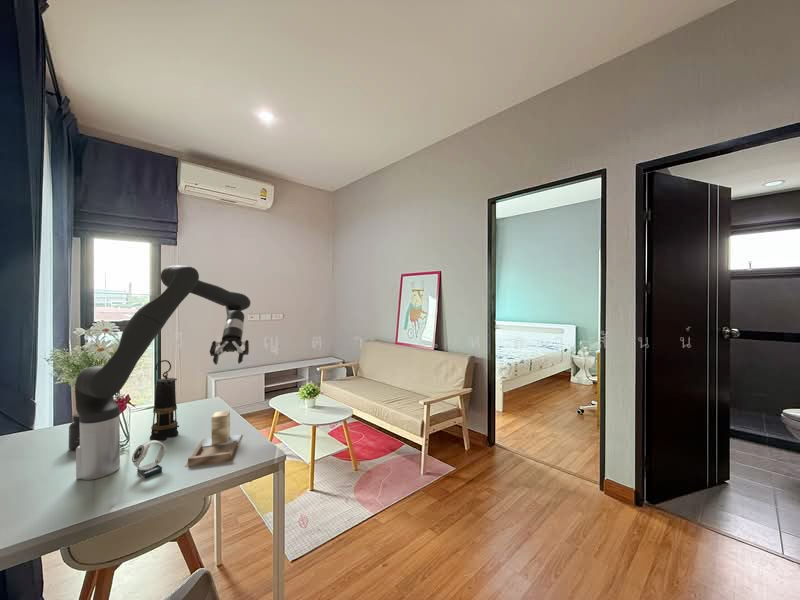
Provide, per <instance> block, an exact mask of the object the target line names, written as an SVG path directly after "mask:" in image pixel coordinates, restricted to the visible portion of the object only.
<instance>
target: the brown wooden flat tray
mask: <svg viewBox="0 0 800 600" xmlns="http://www.w3.org/2000/svg"><path fill="white" fill-rule="evenodd" d="M243 437H244V435H243V434H233V435H230V437H229V439H228V441H227V443H219V444H212V437H207V438H206V437H205V438H203V439H201V441H200V443H199V444H198V445H197V447H196V448H195V449H194V451H193V453H192V454H191V456H189V457H188V458H187V462H186V464H185V465H184V468H187V467H197V466H201V465H203V466H205V465H212V464H217V463H226V462H233V461H234V459H235V457H236V454H237V452H238V450H239V447H240V444H241V442H242V439H243Z"/></svg>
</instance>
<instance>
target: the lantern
mask: <svg viewBox="0 0 800 600" xmlns="http://www.w3.org/2000/svg"><path fill="white" fill-rule="evenodd" d="M163 362H166V363H167V364H168V365H169V369H168V370H167V371H164V372H162V373H163V374H162V377H163V378H159V379H156V380H154V382H155V383H156V387H155V397H154V407H153V409H152V410H153V411H152V412H153V418H152V419H153V420H152V425H151V428H150V429H151V433H150V434H151V435H150V436H149V441H151V440H156V441H159V442H164V441H166V440H168V439H171V438H176V437H177V436H178V435H179V431H178V428H179V427H180V425H179V423H178V421H177V419H178V418H177V409H178V406H177V400H176V399H177V397H176V396H177V395H176V381H177V380H178V379H177V378H175V377H168V376H169V374H168V373H169V372H170V371H171V369H172V364H171V362H170V361H169V360H167V359H165V360H164V359H163V360H160V361H158V362H157V363H156V365H155V371H158V366H159V364H161V363H163ZM174 417H175V418H174ZM155 418H156V419H155ZM155 420H156V422H155Z"/></svg>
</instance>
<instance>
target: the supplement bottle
mask: <svg viewBox="0 0 800 600" xmlns="http://www.w3.org/2000/svg"><path fill="white" fill-rule="evenodd" d="M78 446H80V419H79V415H78V413H76V414H74V415H72V422H71V423H70V424H69V426H68V450H69V451H71V452H72V451H73V452H76V448H77V447H78Z"/></svg>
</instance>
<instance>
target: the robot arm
mask: <svg viewBox="0 0 800 600" xmlns="http://www.w3.org/2000/svg"><path fill="white" fill-rule="evenodd" d="M160 280H161V282H162V283H163V285H164V286H166V288H165V289H164V291H163V292H162V293H161V294H159V295H158V296H156V297H154V299H151V301H149V302H147V303H145V304H144V305H143V306H142V307H140V308H139V309H138V310H137V311H136V312H135V313H134V315H132V317H131V318H130V319H129V321H128V322H127V323H126V325H125V326H124V329H123V330H122V332H121V337H120V339H119V344H118V347H117V349H116V350H115V352H114V353H113V355H112V356H111V357H110V359H109V360H108V361H107V362H106V363H105V365H103V366H102V365H101V366H100V365H95V366H90V367H88V368H86V369H84V370H82V371H81V372H80V373H79V374H78V375H77V377H76V380H75V384H74V385H75V386H74V395H75V409H76V414H78V415H79V419H80V446H78V447H77V448H76V451H75V479H76V480H79V479H80V480H85V481H88V480H89V481H90V480H91V481H92V480H96V479H100V478H104V477H107V476H109V475H112V474H114V473H115V472H117V470H119V469H120V467H121V451H120V450H121V446H120V445H121V444H120V443H121V441H120V440H121V437H120V436H121V434H120V424H121V423H120V421H121V420H120V419H121V417H120V411H121V410H120V406H119V404H118V403H117V402H116V401H115V399H114V396H115V395H116V394H118V393H119V392H120V391H121V390H122V389H123V387H124V386H125V384H126V383H127V381H128V380H129V378H130V376H131V374H132V373H133V370H134V369H135V367H136V365H137V364H138V362H139V360H140V359H141V357H142V356H143V355H144V354H145V352H146V350H147V349H148V348H149V347H150V345H151V343H152V342H153V341H154V340H155V338H156V337H158V335H159V333H160V332H161V330H162V329H163V328H164V327H165V325H166V323H167V322H168V320H169V319H170V318H171V317H172V315H173V313H174V312H175V311H176V310H177V309H178V307H179V305H180V304H181V303H182V302H183V301H184V300H185V299H186V297H188V295H189V294H193V295H195V296H199V297H201V298H204V299H206V300H208V301H211V302H212V303H215V304H217V305H219V306H222V307H225V312H226V321H225V324H224V327H223V332H222V337H221V341H220V342H219V341H215V340H213V341H212V343H211V346H210V349H209V354H210V355H209V356H210V357H213V358H212V361H213V364H214V365H216V366H217V365H218V364H219V362H218V361H219V358H220V356H221V355H223V354H224V353H230V352H232V353H233V352H234V353H235V352H236V353H237V354H238V357H237V363H238V364H239V365H240V364H241V363H242V362H243V361H244V359H243V358H244V356H245V355H249V354H250V353H249V352H250V350H249V349H250V341H249V340H248V339H246V340H245V341H242V339H243V333H244V321H245V314H244V313H243V311H245V310H248V308H250V306H251V300H250V298H249V297H248V296H247V295H245V293H239V292H235V291H229V290H227V289H225V288H223V287H221V286H218V285H215V284H212V283H209V282H205V281H202V280H200V274H199V271H198V269H196V268H194V267H192V266H189V265H170V266H169V265H168V266H166V267H164V268H163V270H161V273H160ZM242 346H243V348H244V350H243V349H242V348H241V347H242Z"/></svg>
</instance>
